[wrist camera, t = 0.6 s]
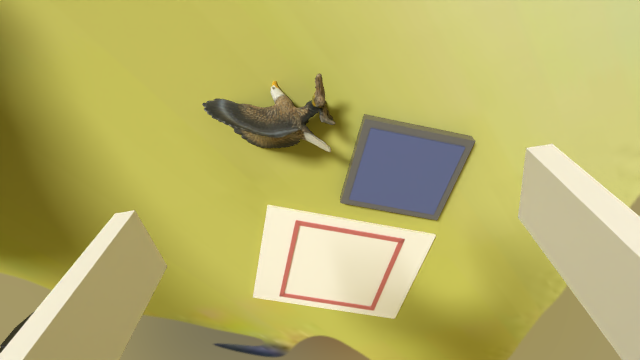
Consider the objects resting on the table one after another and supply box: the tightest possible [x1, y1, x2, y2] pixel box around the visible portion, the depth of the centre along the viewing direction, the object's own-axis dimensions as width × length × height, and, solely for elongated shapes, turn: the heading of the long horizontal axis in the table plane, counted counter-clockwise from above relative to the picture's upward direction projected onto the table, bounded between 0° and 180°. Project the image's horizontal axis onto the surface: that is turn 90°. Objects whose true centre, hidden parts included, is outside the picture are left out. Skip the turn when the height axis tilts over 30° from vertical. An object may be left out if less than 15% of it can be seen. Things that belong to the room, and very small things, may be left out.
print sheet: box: [253, 205, 436, 319], centre depth 41 cm, size 18×14×1 cm
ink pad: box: [340, 114, 475, 220], centre depth 34 cm, size 10×9×1 cm
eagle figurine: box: [202, 73, 335, 152], centre depth 29 cm, size 8×7×9 cm
